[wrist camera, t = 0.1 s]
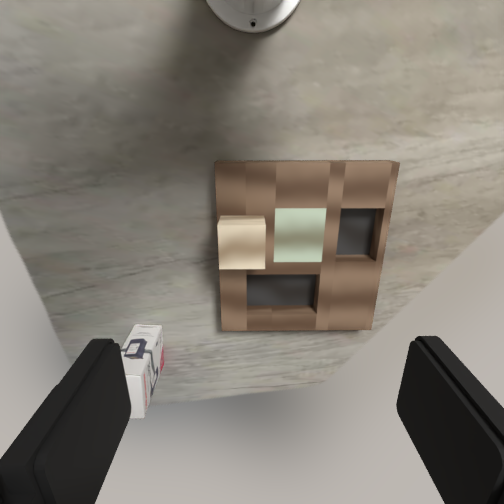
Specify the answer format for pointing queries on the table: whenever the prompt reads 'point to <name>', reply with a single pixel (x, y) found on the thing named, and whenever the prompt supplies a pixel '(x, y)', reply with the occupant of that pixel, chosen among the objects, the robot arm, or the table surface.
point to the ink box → (142, 365)
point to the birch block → (241, 242)
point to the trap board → (307, 242)
